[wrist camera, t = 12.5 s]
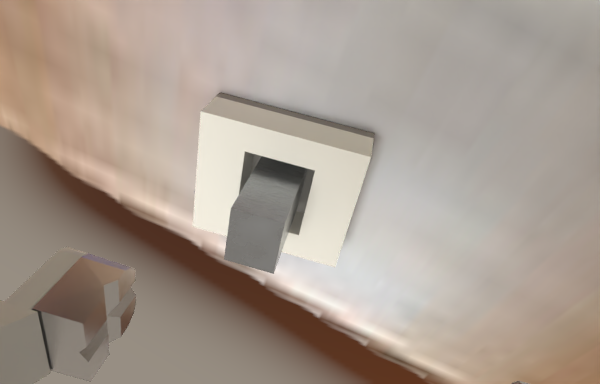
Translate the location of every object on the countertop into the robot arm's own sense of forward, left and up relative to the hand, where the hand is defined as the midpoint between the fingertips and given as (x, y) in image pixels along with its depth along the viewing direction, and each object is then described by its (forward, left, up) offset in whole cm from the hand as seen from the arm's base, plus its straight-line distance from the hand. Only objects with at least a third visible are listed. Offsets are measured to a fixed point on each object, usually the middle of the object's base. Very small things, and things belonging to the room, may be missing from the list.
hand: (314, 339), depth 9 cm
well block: (+5, +14, -29) cm, 33 cm away
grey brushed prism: (+5, +14, -28) cm, 32 cm away
